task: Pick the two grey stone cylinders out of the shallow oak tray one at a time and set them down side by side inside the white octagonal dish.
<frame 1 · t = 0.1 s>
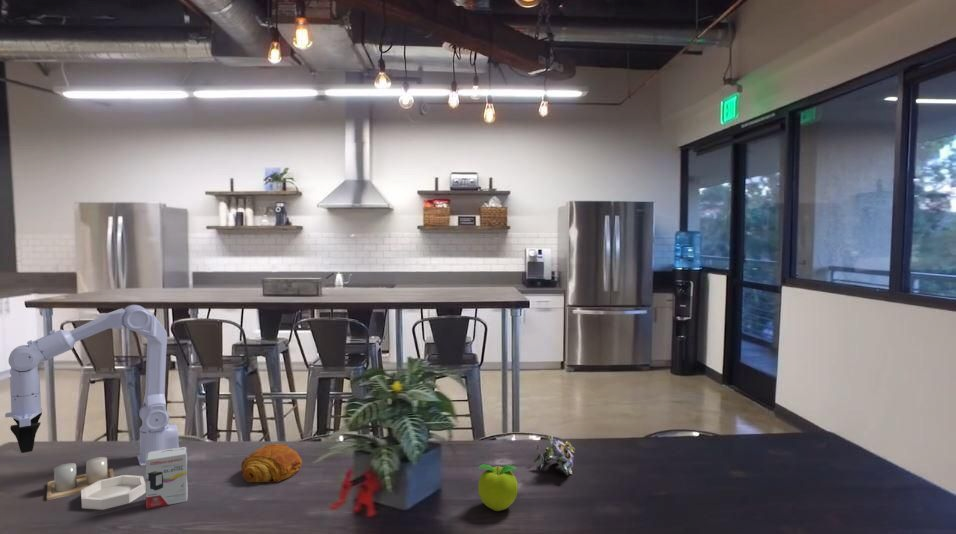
hand: (27, 446, 136), 10 cm above the table, tool pointing down, fingers open, 7 cm apart
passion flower: (554, 472, 146), on the table
stone b: (65, 488, 134), resting on oak tray
croissant: (273, 473, 145), on the table
white octagonal dish: (113, 497, 130), on the table
oak tray: (81, 486, 136), on the table
fruit: (497, 508, 126), on the table
ink box: (167, 501, 129), on the table
stone a: (97, 481, 138), resting on oak tray
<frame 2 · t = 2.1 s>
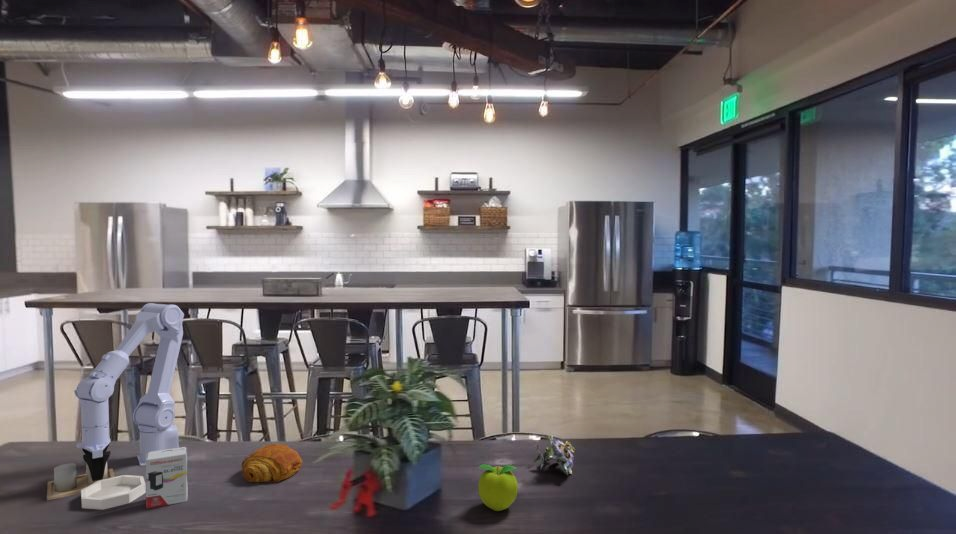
hand: (97, 476, 138), 2 cm above the table, tool pointing down, fingers closed on stone a, 4 cm apart
stone a: (97, 481, 138), resting on oak tray, touching gripper
everything else where it was.
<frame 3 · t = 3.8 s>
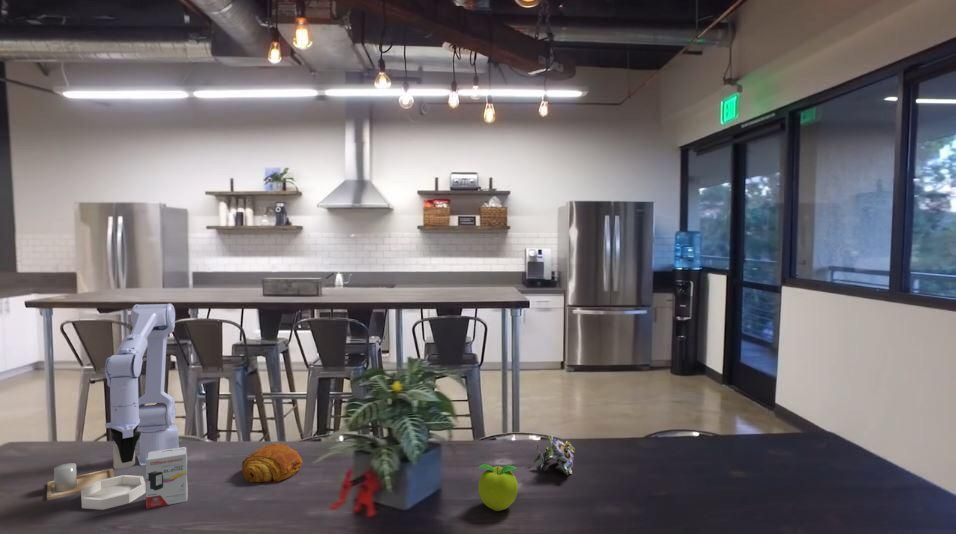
hand: (126, 458, 132), 9 cm above the table, tool pointing down, fingers closed on stone a, 4 cm apart
stone a: (124, 464, 131), point 7 cm above the table, touching gripper
everything else where it was.
when the fingers open (3 cm above the table, at t = 5.4 s): stone a stays where it is, resting on white octagonal dish.
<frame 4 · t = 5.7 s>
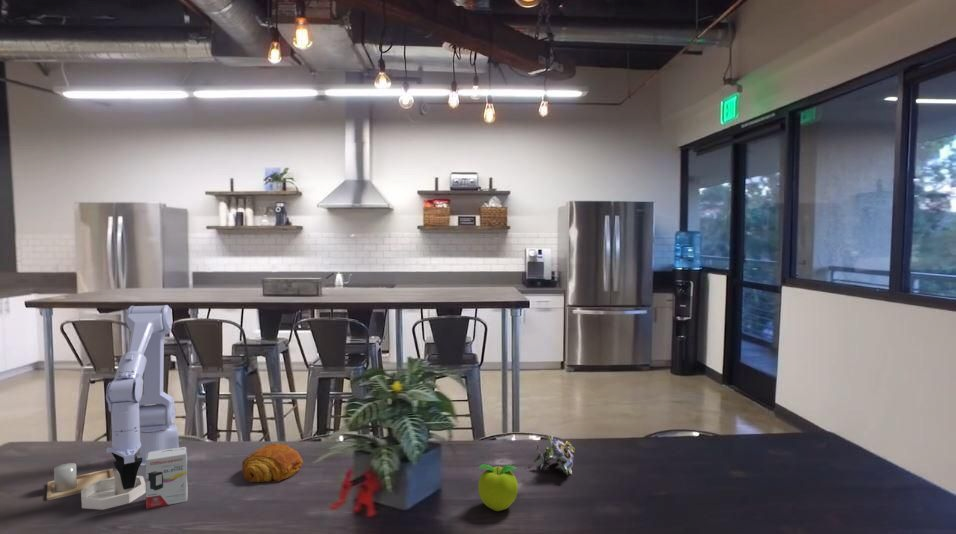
hand: (127, 482, 132), 3 cm above the table, tool pointing down, fingers open, 7 cm apart
stone a: (125, 492, 132), point 1 cm above the table, touching white octagonal dish
everything else where it was.
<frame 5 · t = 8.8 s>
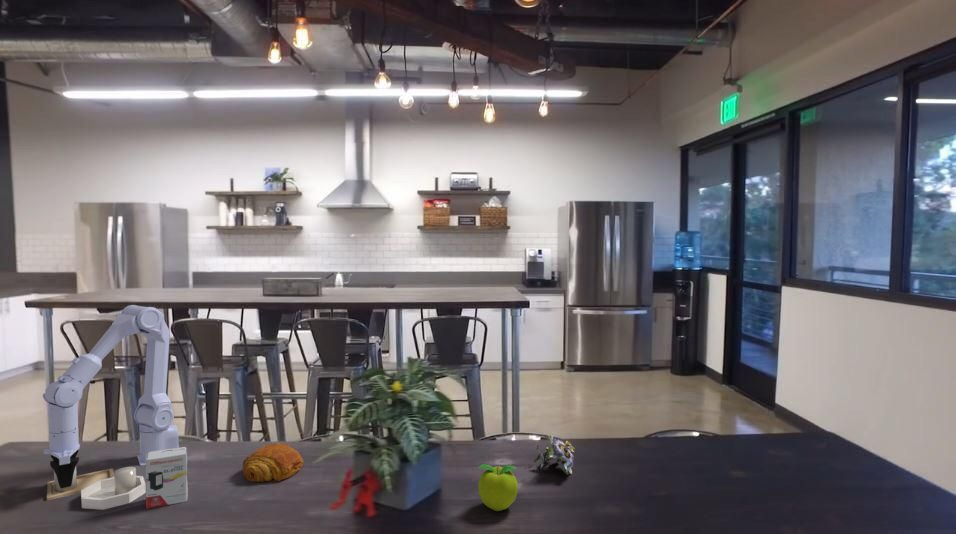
hand: (65, 483, 134), 2 cm above the table, tool pointing down, fingers closed on stone b, 4 cm apart
stone b: (65, 488, 134), resting on oak tray, touching gripper
everything else where it was.
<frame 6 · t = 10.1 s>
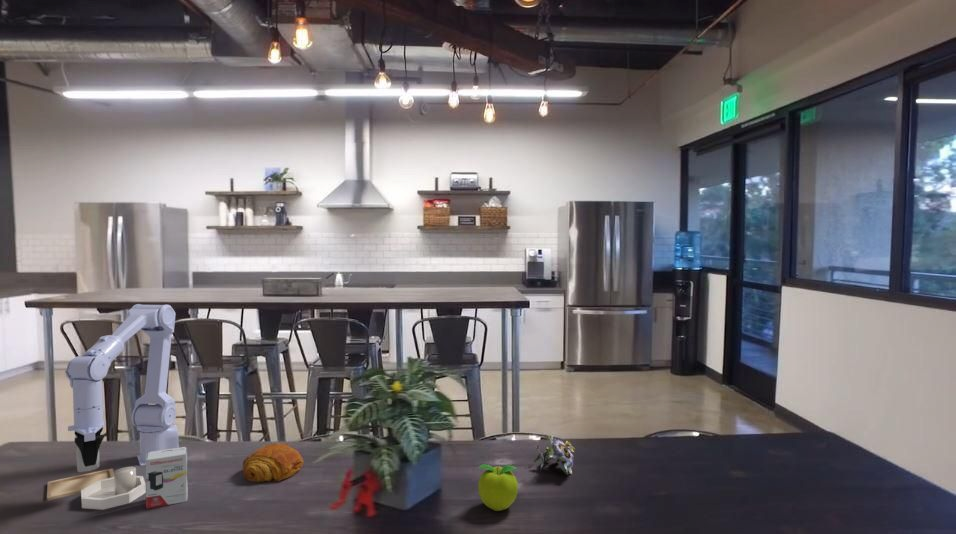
hand: (90, 461, 129), 9 cm above the table, tool pointing down, fingers closed on stone b, 4 cm apart
stone b: (88, 467, 129), point 8 cm above the table, touching gripper
everything else where it was.
when the fingers open (3 cm above the table, at t = 11.9 s): stone b stays where it is, resting on white octagonal dish.
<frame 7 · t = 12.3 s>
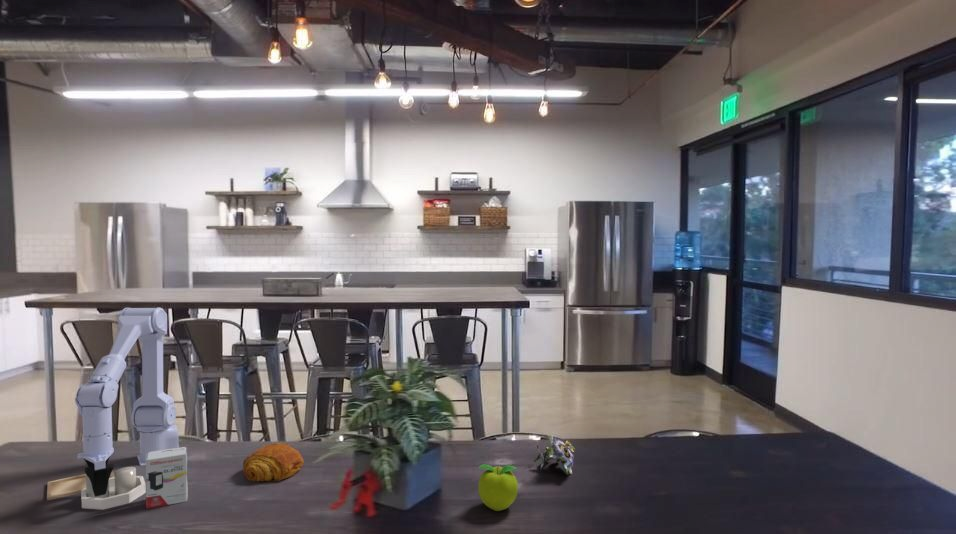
hand: (99, 488, 128), 3 cm above the table, tool pointing down, fingers open, 7 cm apart
stone b: (98, 498, 128), point 1 cm above the table, touching white octagonal dish
everything else where it was.
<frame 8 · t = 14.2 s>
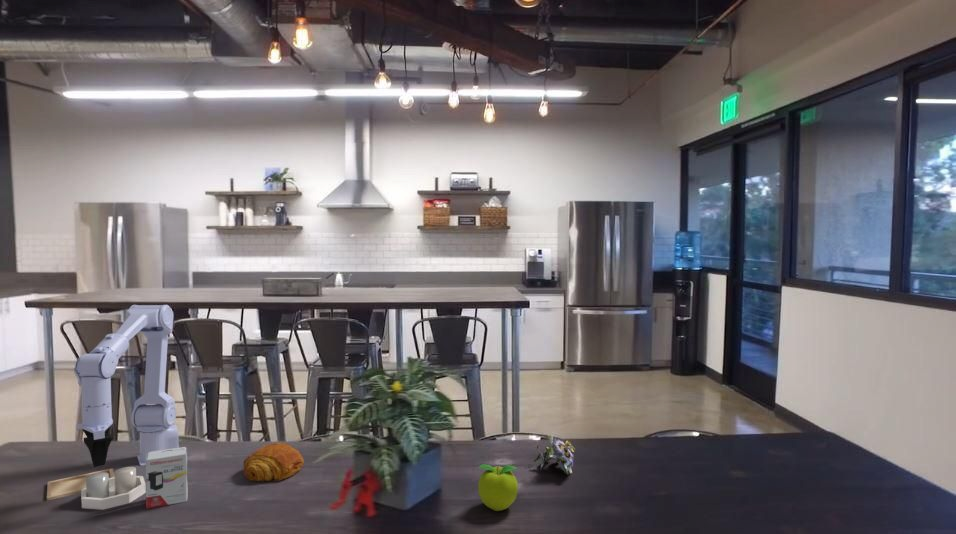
hand: (98, 460, 128), 10 cm above the table, tool pointing down, fingers open, 7 cm apart
nothing on the table moved.
at the end: stone a inside the target area on the white octagonal dish (2.4 cm from its centre), point 0.6 cm above the white octagonal dish's base; stone b inside the target area on the white octagonal dish (3.1 cm from its centre), point 0.6 cm above the white octagonal dish's base; the gripper is holding nothing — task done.
